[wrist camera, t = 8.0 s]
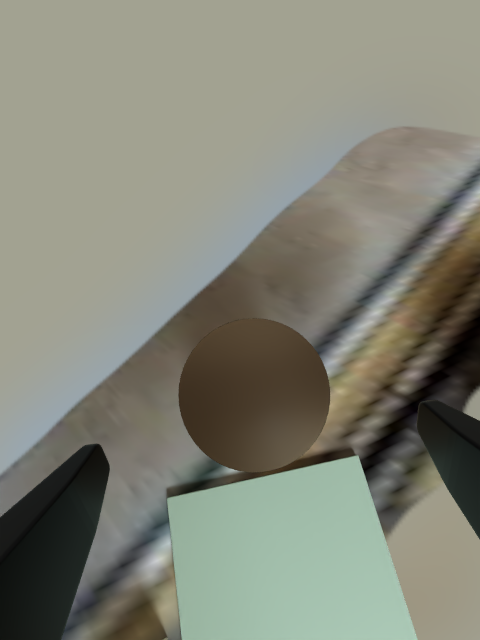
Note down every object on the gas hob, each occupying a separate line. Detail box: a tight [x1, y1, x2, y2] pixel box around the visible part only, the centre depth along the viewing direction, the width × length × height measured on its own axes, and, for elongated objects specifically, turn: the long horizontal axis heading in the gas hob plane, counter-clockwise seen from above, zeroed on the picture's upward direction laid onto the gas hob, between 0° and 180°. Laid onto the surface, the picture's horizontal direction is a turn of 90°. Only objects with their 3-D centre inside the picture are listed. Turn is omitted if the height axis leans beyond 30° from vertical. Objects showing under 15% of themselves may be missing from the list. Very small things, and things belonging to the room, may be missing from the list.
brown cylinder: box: [179, 318, 330, 472], centre depth 13 cm, size 5×5×9 cm
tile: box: [167, 455, 418, 640], centre depth 15 cm, size 8×10×1 cm
